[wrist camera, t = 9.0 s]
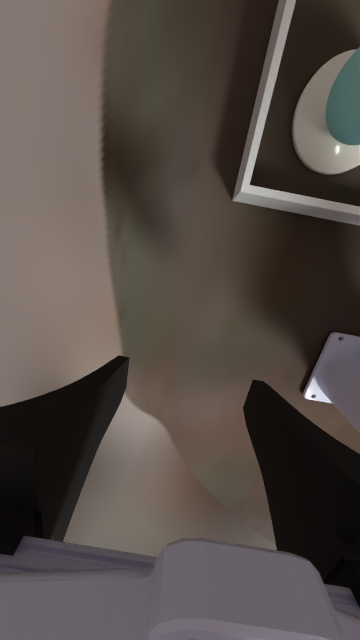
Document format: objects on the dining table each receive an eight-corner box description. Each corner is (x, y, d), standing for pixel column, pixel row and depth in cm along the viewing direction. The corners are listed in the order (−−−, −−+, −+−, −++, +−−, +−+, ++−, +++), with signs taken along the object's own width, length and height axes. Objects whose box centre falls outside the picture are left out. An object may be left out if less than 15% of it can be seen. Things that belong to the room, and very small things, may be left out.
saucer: (411, 66, 14) (418, 60, 14) (364, 182, 17) (369, 180, 16) (313, 45, 14) (317, 39, 14) (278, 165, 17) (281, 163, 16)
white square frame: (481, 14, 13) (559, -48, 11) (381, 230, 18) (418, 226, 15) (285, -29, 13) (311, -104, 10) (232, 200, 18) (240, 191, 15)
